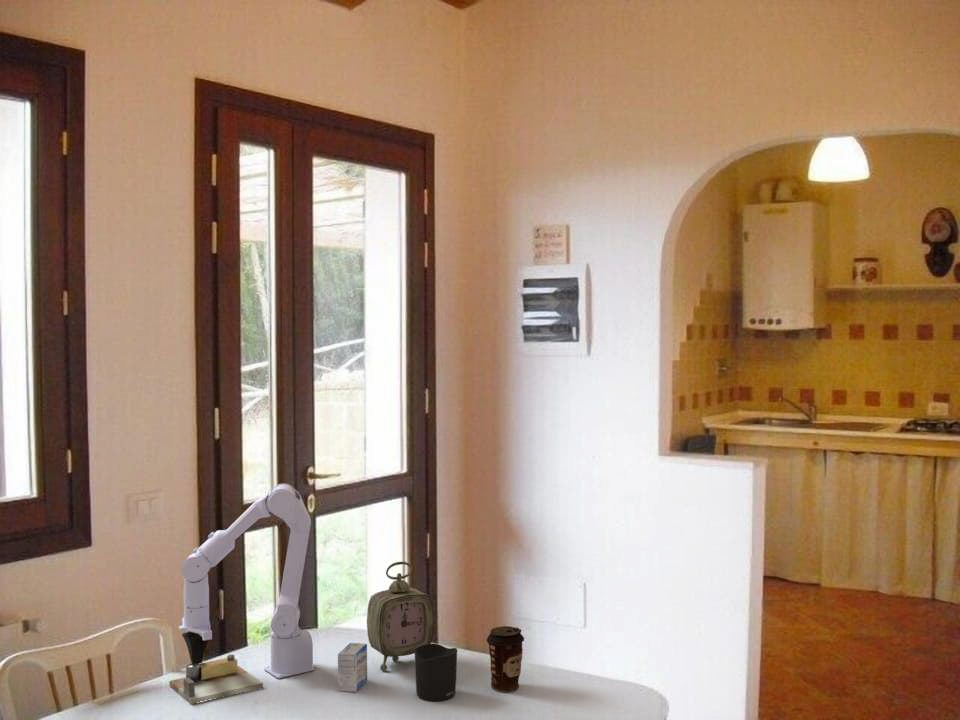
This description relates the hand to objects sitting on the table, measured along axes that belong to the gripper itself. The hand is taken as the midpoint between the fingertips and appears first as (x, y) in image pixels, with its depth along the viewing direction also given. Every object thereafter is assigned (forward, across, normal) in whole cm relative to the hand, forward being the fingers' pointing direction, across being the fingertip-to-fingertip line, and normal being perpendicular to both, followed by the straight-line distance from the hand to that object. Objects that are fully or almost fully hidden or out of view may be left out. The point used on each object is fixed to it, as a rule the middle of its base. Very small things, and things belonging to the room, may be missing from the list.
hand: (196, 663), depth 223 cm
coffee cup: (+3, +50, +53) cm, 73 cm away
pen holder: (+3, +44, +38) cm, 58 cm away
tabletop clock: (+3, +22, +42) cm, 48 cm away
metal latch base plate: (+3, +10, +1) cm, 10 cm away
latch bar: (+1, +7, +1) cm, 7 cm away
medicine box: (+3, +28, +26) cm, 38 cm away
